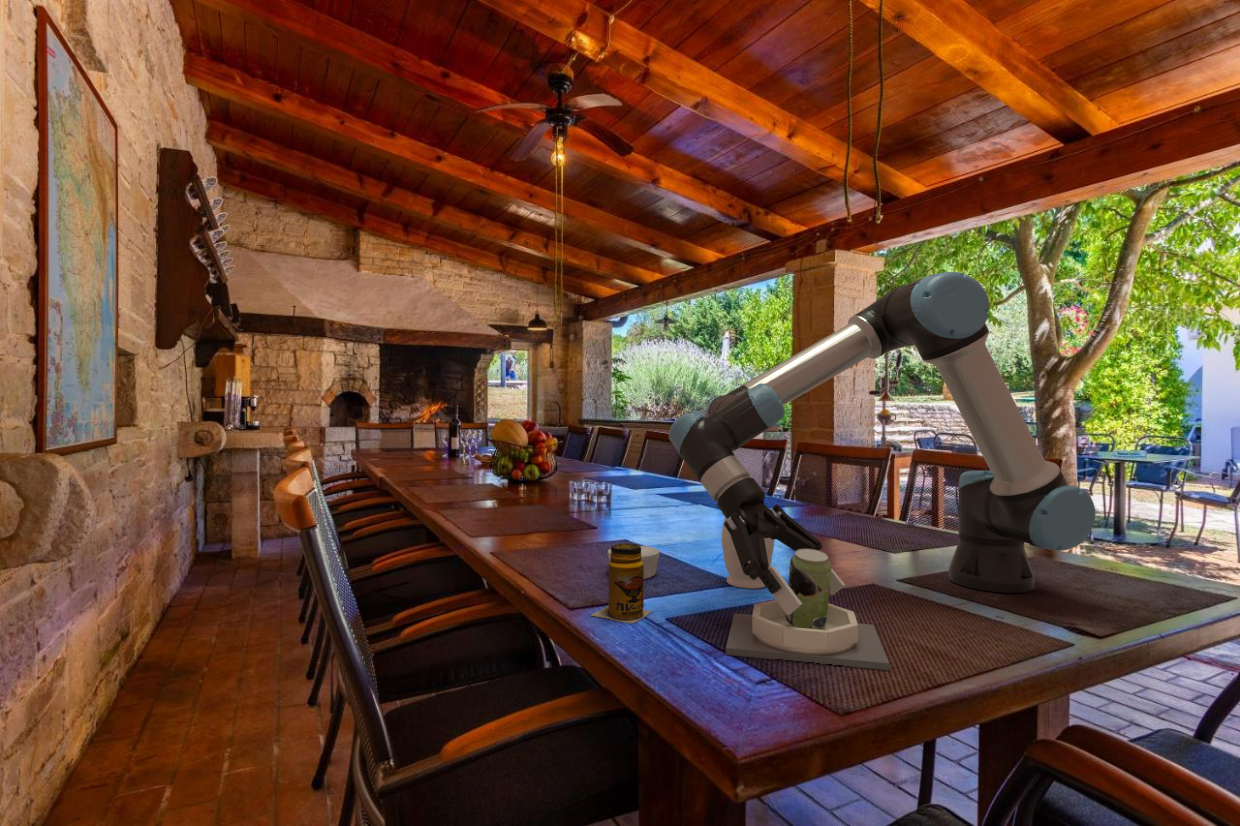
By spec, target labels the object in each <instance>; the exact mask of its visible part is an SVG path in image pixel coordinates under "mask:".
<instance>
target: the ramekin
mask: <svg viewBox="0 0 1240 826" xmlns="http://www.w3.org/2000/svg"><path fill="white" fill-rule="evenodd" d="M639 546H640V547H641V555H642V557H641V560H642V562H643V565H644V576H643V580H646V579H645V578H648V579H650V577H651V578H653V577H654V576H655V575H656V573H657V568H658V563H659V557H660V550H659V549H657V548H655V547H652V546H645V545H639ZM607 557H608V562H609V561H610V560H611V548H609V549H608V550H607ZM652 576H653V577H652Z"/></svg>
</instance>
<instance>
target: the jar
mask: <svg viewBox="0 0 1240 826" xmlns="http://www.w3.org/2000/svg"><path fill="white" fill-rule="evenodd" d="M721 513H722V512H721ZM722 515H723V517H724V520H723V523H722V526H721V527H722V529H721V547H722V554H723V561H724V565H725V569H726V570H727V573H728V576H727V578H726V582H727V583H726V584H728V585H730V586H732V587H734V588H735V587H736V588H741V589H742V588H743V589H751V590H752V589H753V590H754V589H762V588H766V586H765V585H764V584H763V582H762V581H761V579H760V578H759V577H758V578H756V579H755V580H753V579H751V578H750V576H747V575H745V574H744V572H743V570H742V567H741V564H740V561H739V558H738V555H737V553H736V550H735V547H734V544H733V541H732V538H731V535H730V533H729V532H728V530H727V528H726V527H725V525H724V522H725V521H726V520H727V518H726V517H725V515H724V514H723V513H722ZM764 540H765V546H766V552H767V558H768V564H769V567H768V569H769V568H770V567H772V560H773V553H774V548H775V540H772V539H771V538H764ZM749 563H750V561H749V562H748V564H749Z"/></svg>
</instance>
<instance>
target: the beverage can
mask: <svg viewBox="0 0 1240 826" xmlns="http://www.w3.org/2000/svg"><path fill="white" fill-rule="evenodd" d="M789 562H790V563H789V573H788V583H787V584H788V585H789V587H790V588H791V589H792V591H793V592H794V593H795V595H796V596H797V597H798V599H799V600H800V601H801V603H802V605H800V606H799V607H798V608H797V609H796V610H795V611H793V612H792V613H791V614H790V615H787V614H786V620H787V621H788V622H789V623H790V624H791V625H792V626H793V627H795V628H807V629H819V630H820V629H822V628H824V627H825V626H826V623H827V612H828V603H829V601H830V599H829V598H830V593H829V590H830V579H831V568H832V563H831V561H830V560H829V555H828V554H827V553H826V552H823V551H822V550H819V551H818V550H814V549H799V550H797V551H794V554H793V556H792V557H791V558H790V560H789ZM832 569H833V568H832Z"/></svg>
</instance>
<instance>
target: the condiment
mask: <svg viewBox="0 0 1240 826" xmlns="http://www.w3.org/2000/svg"><path fill="white" fill-rule="evenodd" d="M640 546H641V545H639V544H636V543H630V542H629V543H628V542H623V543H622V542H620V543H616V544H613V545H612V546H611V547H610V549H611V560H610V561H609V560H608V576H607V577H608V578H607V579H608V594H607V595H608V602H607V603H608V605H606V606H605V607H604V608H601V609H599V610H598V611H595V612H594V613H592V614H590V616H591V617H597V618H604V619H607V620H611V621H616V622H621V623H627V624H636V623H637V622H639V621H640V620H642V619H644V618H645V617H647V616H648V615H649V614H650V613H652V612H653V610H649V609H644V607H645V605H644V604H645V603H644V600H645V598H644V594H645V591H644V589H645V587H644V584H645V583H644V582H645V581H644V579H643V576H644V565H643V562H642V560H641V557H642V555H641V547H640Z"/></svg>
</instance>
